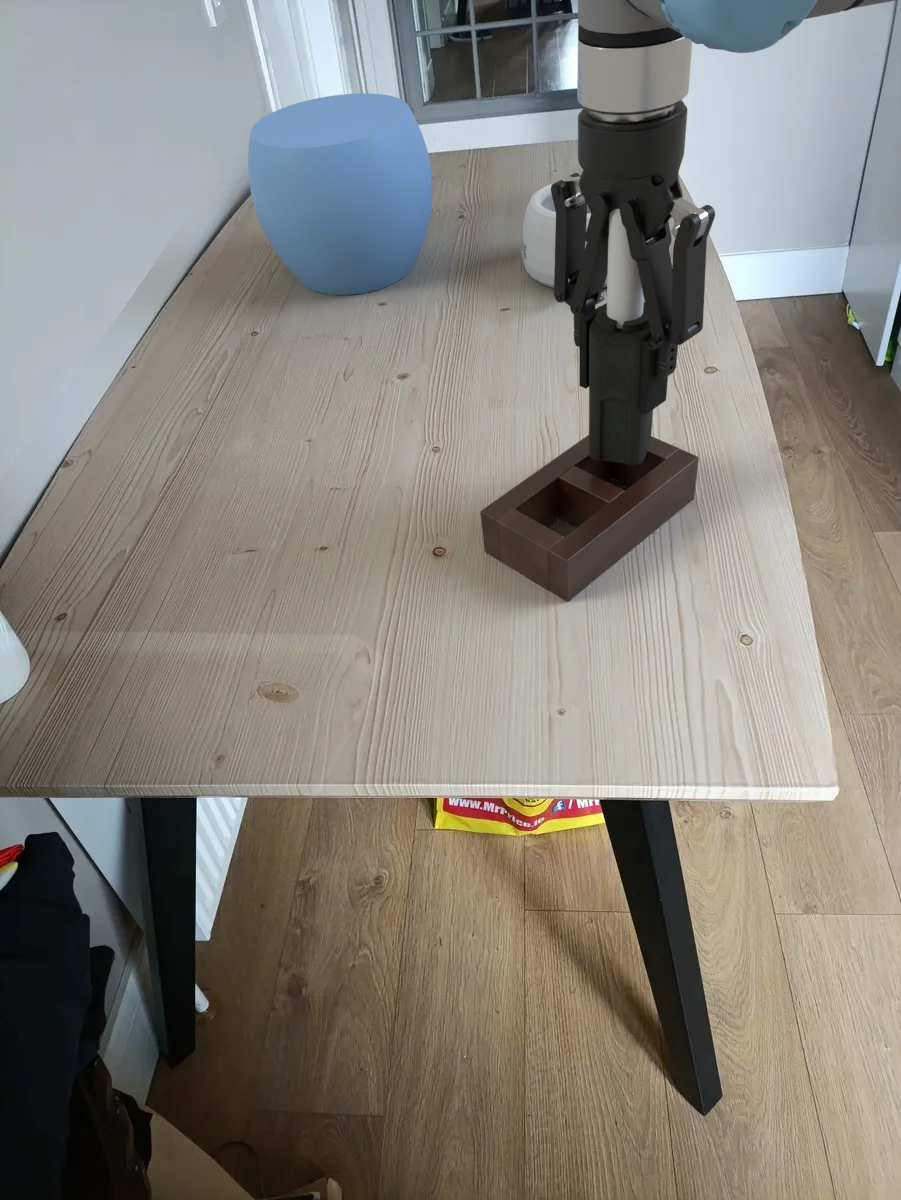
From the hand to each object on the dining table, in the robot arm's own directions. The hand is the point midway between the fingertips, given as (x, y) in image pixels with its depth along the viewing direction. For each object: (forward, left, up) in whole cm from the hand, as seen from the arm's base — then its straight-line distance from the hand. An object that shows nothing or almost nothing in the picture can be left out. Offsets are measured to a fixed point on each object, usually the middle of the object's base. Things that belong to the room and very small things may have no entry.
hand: (622, 392), depth 77 cm
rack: (0, +4, -13) cm, 13 cm away
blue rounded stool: (+64, -19, -13) cm, 68 cm away
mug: (+35, -35, -13) cm, 51 cm away
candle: (0, 0, -6) cm, 6 cm away
